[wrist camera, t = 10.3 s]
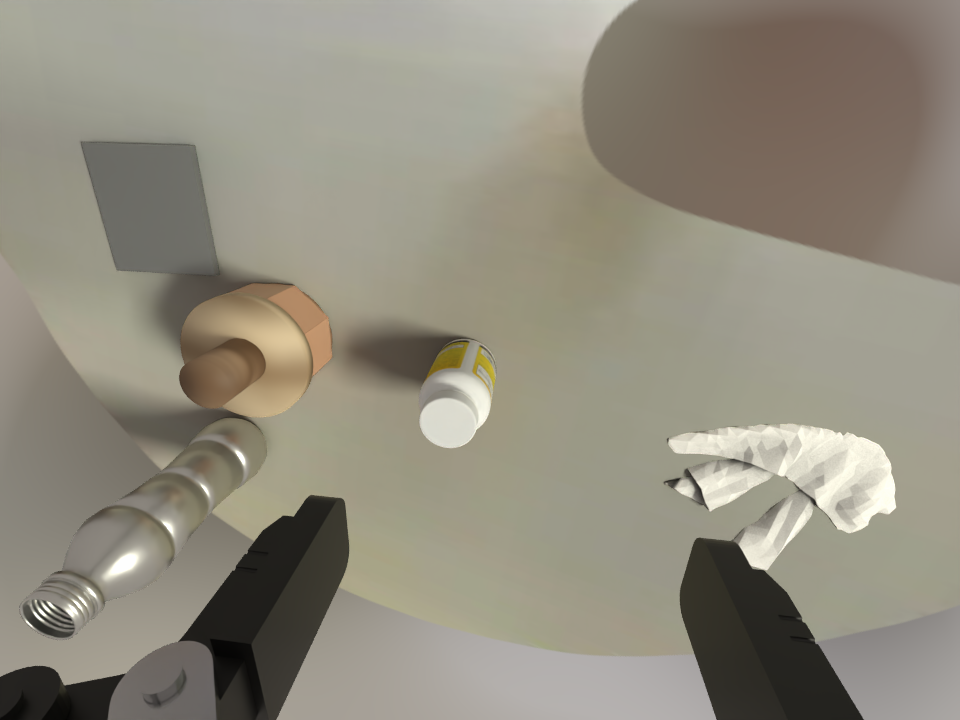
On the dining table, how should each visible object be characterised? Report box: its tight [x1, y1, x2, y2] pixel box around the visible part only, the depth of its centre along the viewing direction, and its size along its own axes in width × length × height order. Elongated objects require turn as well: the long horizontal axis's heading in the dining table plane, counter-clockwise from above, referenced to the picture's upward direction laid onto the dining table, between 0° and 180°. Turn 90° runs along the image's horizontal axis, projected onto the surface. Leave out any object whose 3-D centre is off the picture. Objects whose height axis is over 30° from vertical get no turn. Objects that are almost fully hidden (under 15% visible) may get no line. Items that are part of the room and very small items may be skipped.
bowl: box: [229, 283, 332, 377], centre depth 38 cm, size 9×9×5 cm
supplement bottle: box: [419, 339, 496, 448], centre depth 35 cm, size 5×5×10 cm
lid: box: [179, 292, 313, 417], centre depth 33 cm, size 10×10×6 cm
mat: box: [81, 142, 220, 276], centre depth 37 cm, size 10×9×1 cm
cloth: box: [664, 423, 896, 570], centre depth 41 cm, size 20×22×2 cm
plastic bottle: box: [19, 418, 267, 640], centre depth 36 cm, size 6×7×20 cm
